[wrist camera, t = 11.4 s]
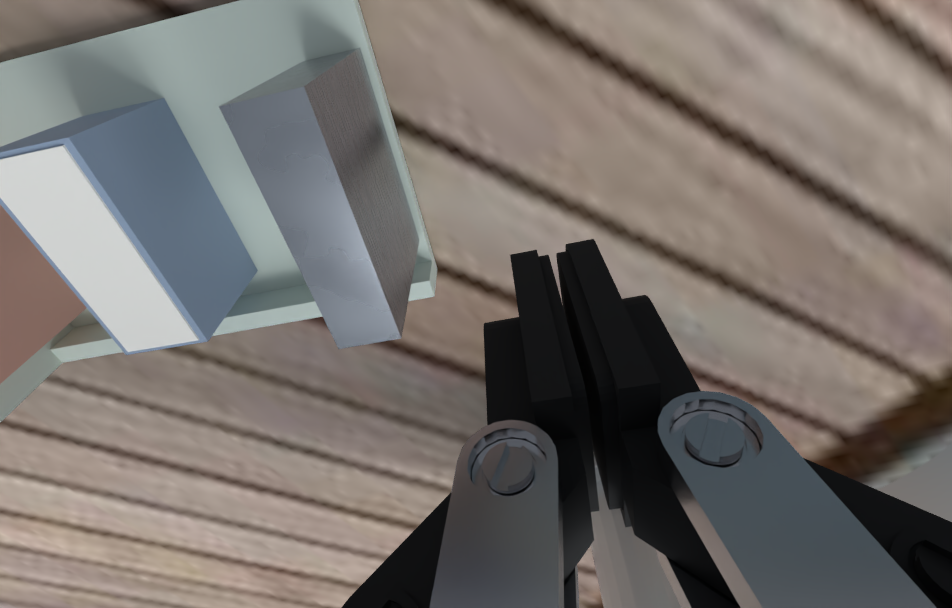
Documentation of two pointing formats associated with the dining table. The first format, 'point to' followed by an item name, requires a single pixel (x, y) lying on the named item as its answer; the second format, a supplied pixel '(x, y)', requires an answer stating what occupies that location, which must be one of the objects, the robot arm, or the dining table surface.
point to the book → (129, 224)
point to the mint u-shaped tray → (198, 114)
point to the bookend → (333, 191)
